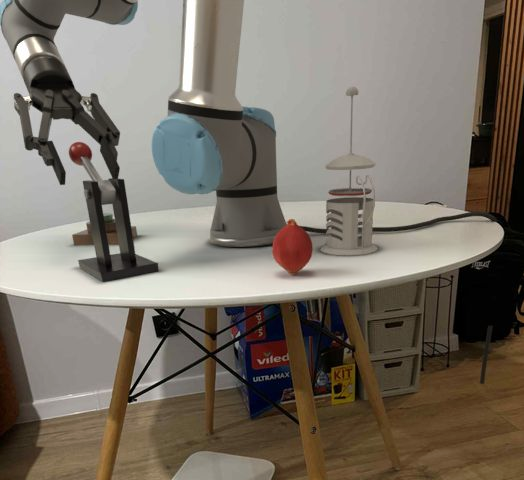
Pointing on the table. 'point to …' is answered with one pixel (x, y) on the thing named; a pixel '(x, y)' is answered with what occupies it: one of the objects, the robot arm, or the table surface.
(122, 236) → the bracket
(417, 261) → the table surface
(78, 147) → the lever
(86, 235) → the button block
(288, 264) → the onion
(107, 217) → the button
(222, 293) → the table surface
